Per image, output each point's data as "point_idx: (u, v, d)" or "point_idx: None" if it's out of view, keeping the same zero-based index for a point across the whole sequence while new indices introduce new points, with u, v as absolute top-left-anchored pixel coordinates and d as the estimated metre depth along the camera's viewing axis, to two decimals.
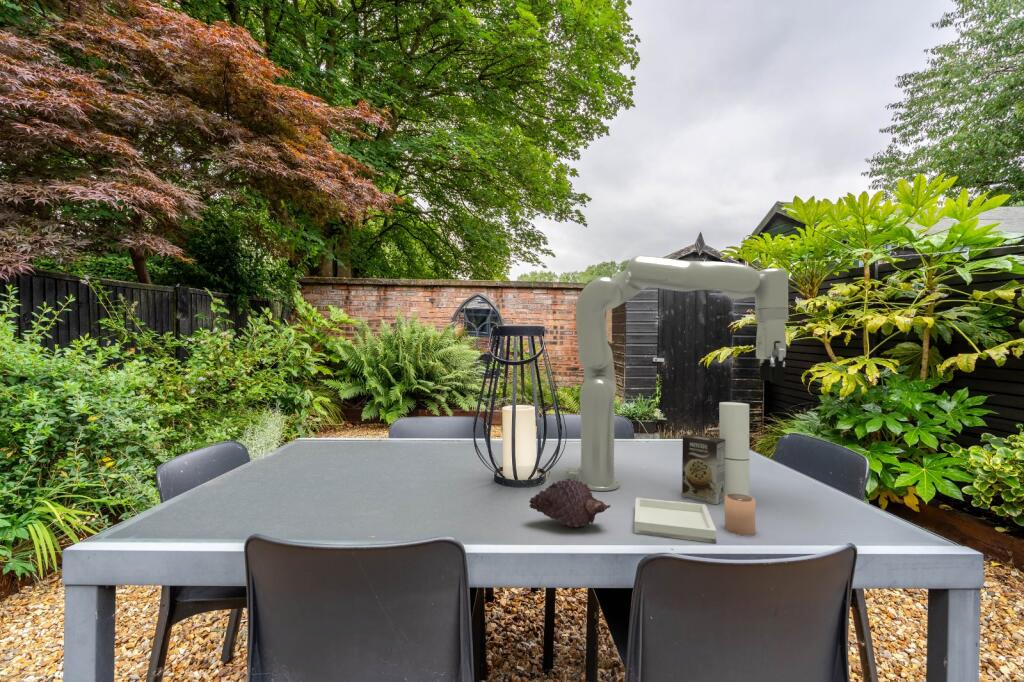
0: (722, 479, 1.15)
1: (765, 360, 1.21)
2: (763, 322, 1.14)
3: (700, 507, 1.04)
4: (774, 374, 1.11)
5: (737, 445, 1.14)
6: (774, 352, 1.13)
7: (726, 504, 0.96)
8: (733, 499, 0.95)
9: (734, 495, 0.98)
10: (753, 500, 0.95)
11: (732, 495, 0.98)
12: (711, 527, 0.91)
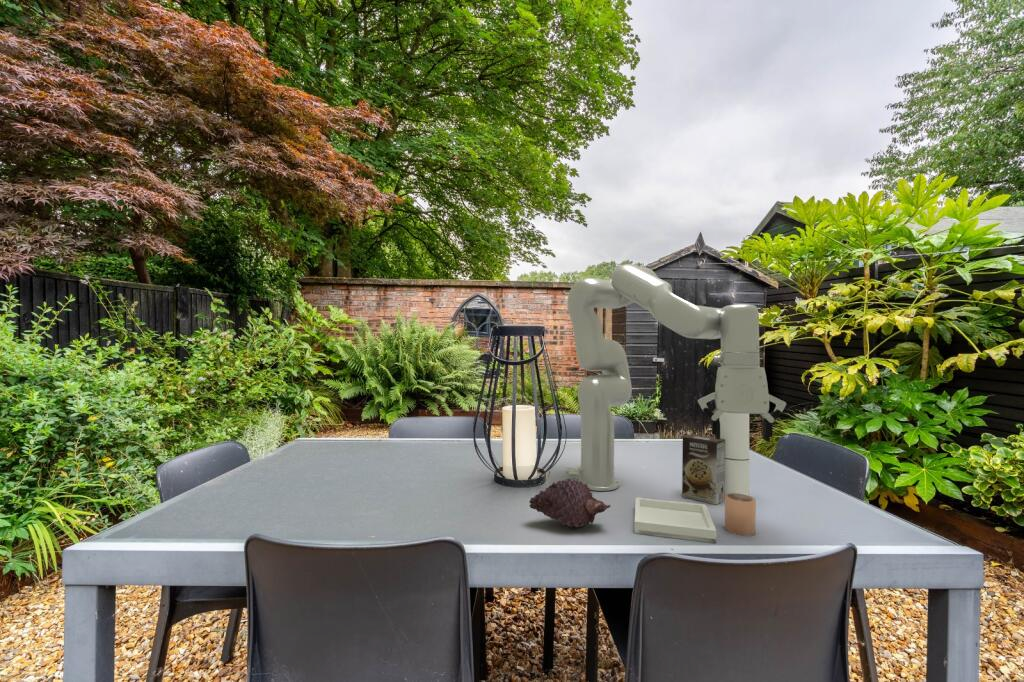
0: (722, 479, 1.15)
1: (713, 413, 0.98)
2: (755, 369, 0.94)
3: (700, 507, 1.04)
4: (769, 431, 0.94)
5: (737, 445, 1.14)
6: None
7: (727, 504, 0.96)
8: (734, 499, 0.95)
9: (734, 495, 0.98)
10: (754, 500, 0.95)
11: (732, 495, 0.98)
12: (711, 527, 0.91)
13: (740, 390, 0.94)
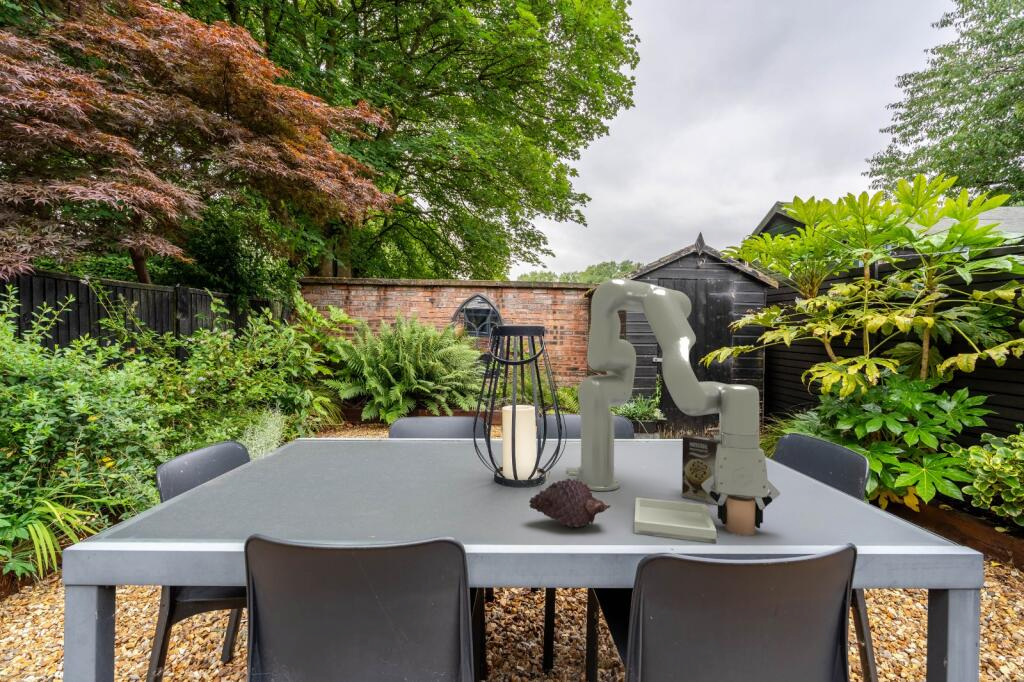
0: None
1: None
2: (755, 452, 0.94)
3: (700, 507, 1.04)
4: (760, 517, 0.95)
5: None
6: None
7: (727, 504, 0.96)
8: (734, 499, 0.95)
9: (734, 495, 0.97)
10: (753, 500, 0.95)
11: (732, 495, 0.97)
12: (711, 527, 0.91)
13: (739, 473, 0.94)
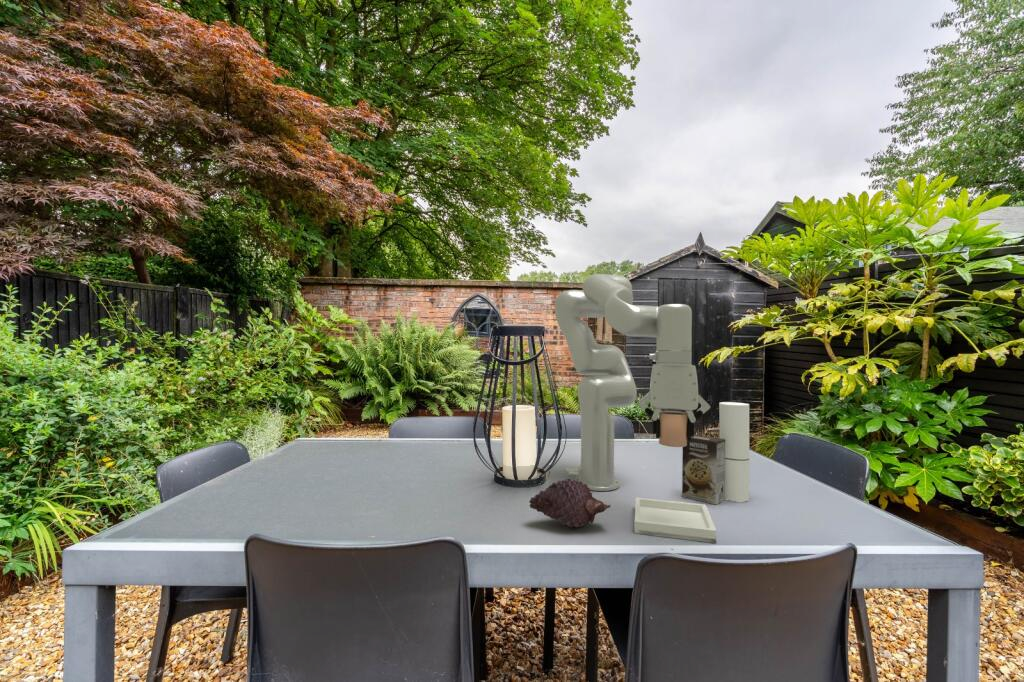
0: (722, 479, 1.15)
1: None
2: (686, 367, 0.97)
3: (700, 507, 1.04)
4: (691, 430, 0.98)
5: (737, 445, 1.14)
6: None
7: (660, 419, 0.99)
8: (666, 413, 0.98)
9: (668, 411, 1.01)
10: (685, 414, 0.98)
11: (666, 411, 1.01)
12: (711, 527, 0.91)
13: (671, 387, 0.98)
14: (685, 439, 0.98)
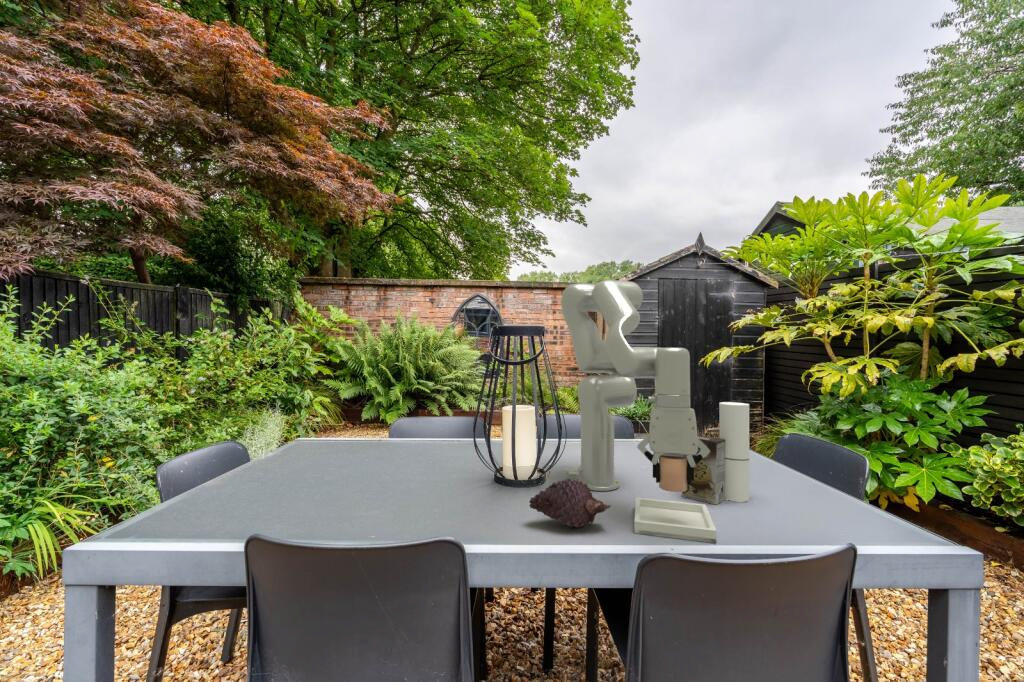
0: (722, 479, 1.15)
1: None
2: (685, 411, 0.97)
3: (700, 507, 1.04)
4: (691, 475, 0.97)
5: (737, 445, 1.14)
6: None
7: (660, 463, 0.99)
8: (666, 457, 0.98)
9: (668, 454, 1.00)
10: (685, 458, 0.98)
11: (666, 454, 1.00)
12: (711, 527, 0.91)
13: (670, 431, 0.97)
14: (685, 484, 0.97)
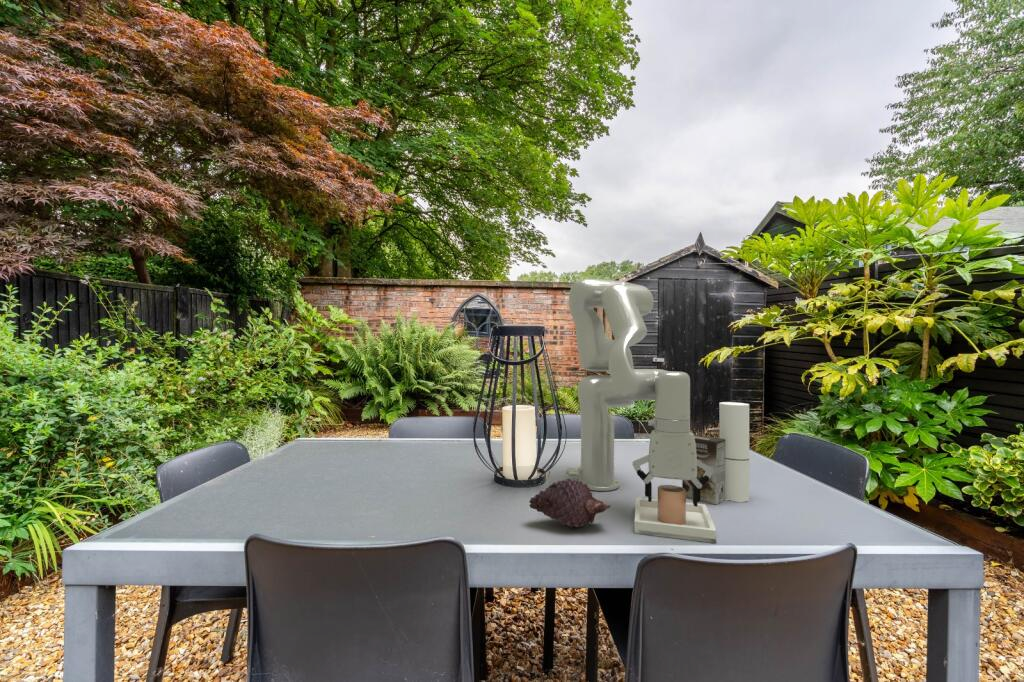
0: (722, 479, 1.15)
1: (646, 475, 1.01)
2: (685, 436, 0.97)
3: (700, 507, 1.04)
4: (698, 496, 0.97)
5: (737, 445, 1.14)
6: None
7: (659, 495, 0.99)
8: (665, 490, 0.98)
9: (667, 486, 1.01)
10: (683, 491, 0.98)
11: (665, 486, 1.01)
12: (711, 527, 0.91)
13: (670, 456, 0.97)
14: (684, 517, 0.97)
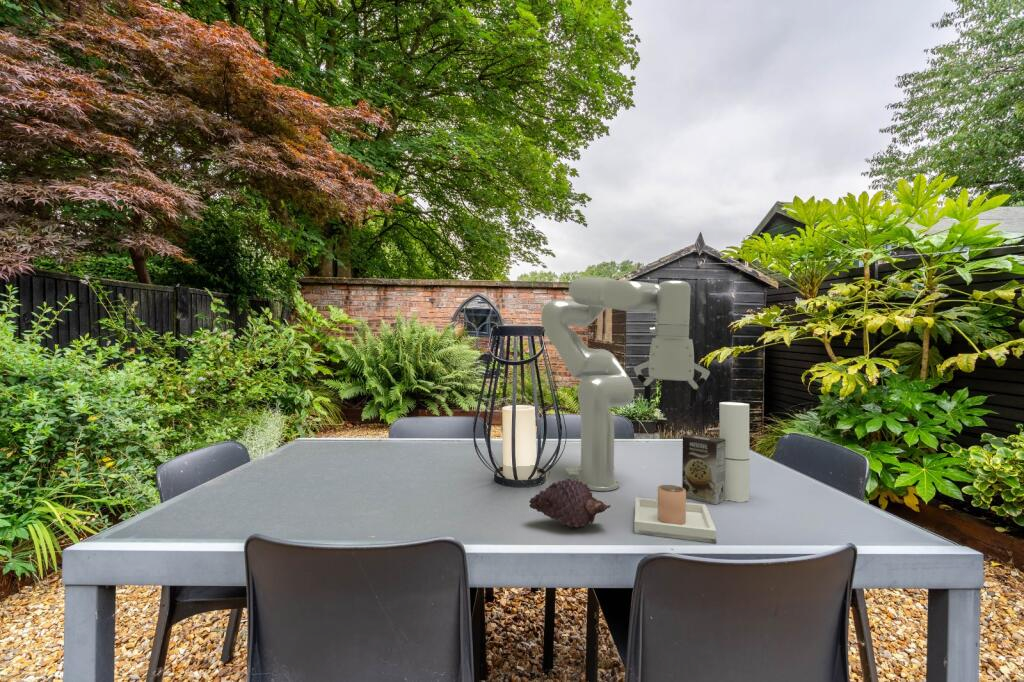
0: (722, 479, 1.15)
1: None
2: (683, 340, 1.03)
3: (700, 507, 1.04)
4: (694, 397, 1.04)
5: (737, 445, 1.14)
6: None
7: (659, 495, 0.99)
8: (665, 490, 0.98)
9: (667, 486, 1.01)
10: (683, 491, 0.98)
11: (665, 486, 1.01)
12: (711, 527, 0.91)
13: (669, 359, 1.04)
14: (684, 517, 0.97)
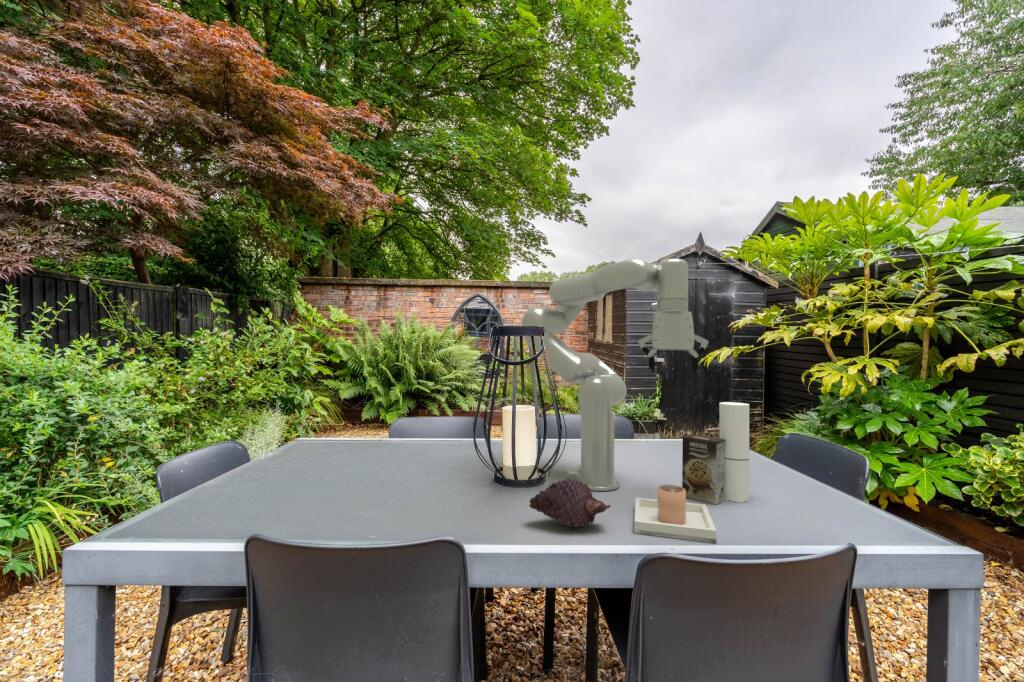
0: (722, 479, 1.15)
1: None
2: (683, 312, 1.12)
3: (700, 507, 1.04)
4: (694, 365, 1.13)
5: (737, 445, 1.14)
6: None
7: (659, 495, 0.99)
8: (664, 490, 0.98)
9: (667, 486, 1.01)
10: (683, 491, 0.98)
11: (665, 486, 1.01)
12: (711, 527, 0.91)
13: (671, 330, 1.13)
14: (684, 517, 0.97)
